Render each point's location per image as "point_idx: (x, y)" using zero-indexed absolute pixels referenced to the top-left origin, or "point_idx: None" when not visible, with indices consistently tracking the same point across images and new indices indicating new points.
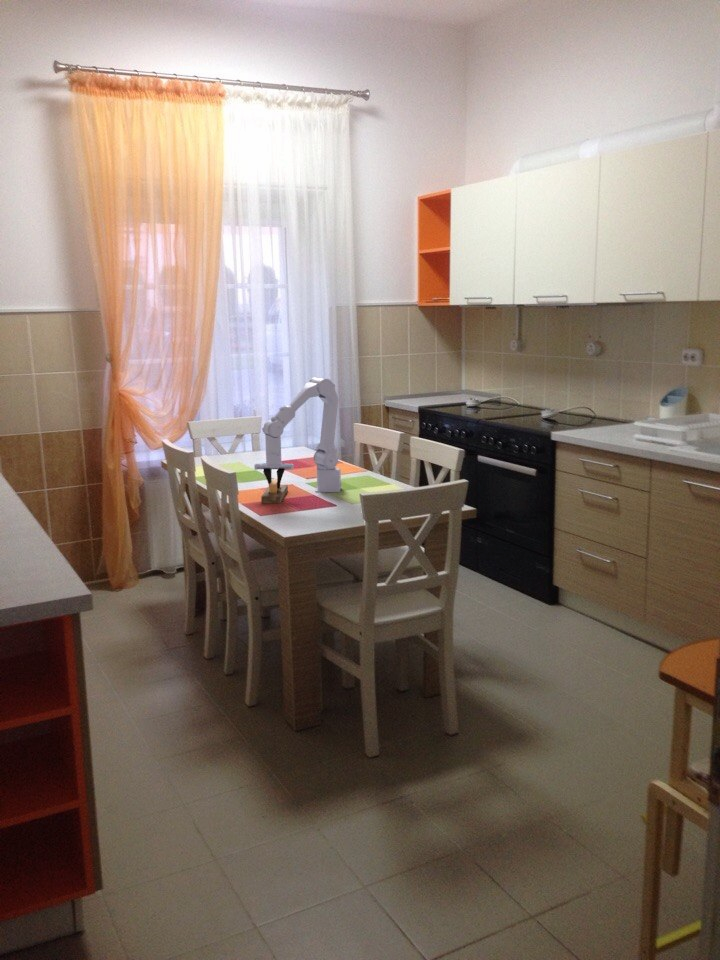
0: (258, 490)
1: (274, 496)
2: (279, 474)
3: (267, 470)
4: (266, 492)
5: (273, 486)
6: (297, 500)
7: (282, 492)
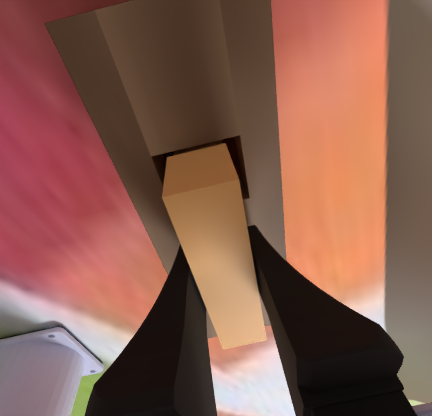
0: (333, 290)
1: (115, 14)
2: (146, 357)
3: (341, 395)
4: (261, 167)
5: (187, 178)
6: (25, 173)
7: (132, 197)
